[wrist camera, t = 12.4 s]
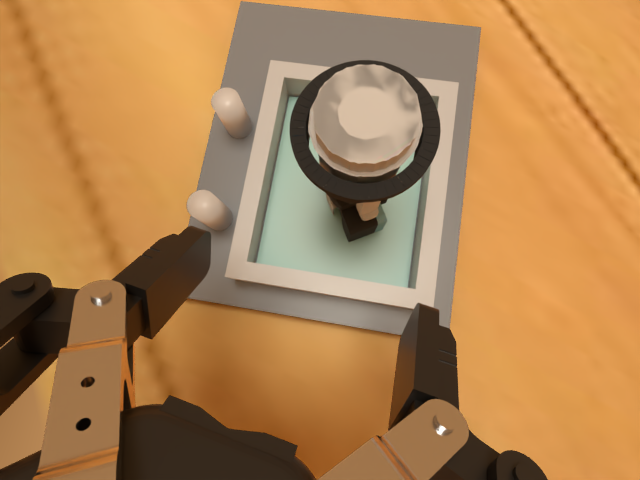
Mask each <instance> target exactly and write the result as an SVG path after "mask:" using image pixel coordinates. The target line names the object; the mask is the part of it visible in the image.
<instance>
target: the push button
mask: <svg viewBox="0 0 640 480" xmlns="http://www.w3.org/2000/svg"><path fill="white" fill-rule="evenodd" d="M440 133H441V128H440V118H439V114H438V110H437V107H436V105H435V102H434V100H433V98H432V97H431V95H430V93H429V92H428V90H427V89H426V88H425V87H424V86H423V84H422V83H421V82H420V81H419V80H418V79H416V78H415V77H414V76H413V75H411V74H410V73H408V72H407V71H405V70H403V69H401V68H399V67H397V66H394V65H392V64H389V63H385V62H380V61H374V60H357V61H350V62H345V63H342V64H339V65H336V66H334V67H331V68H329V69H327V70H325V71H324V72H322V73H321V74H319V75H318V76H316V77H315V78H314V79H313V80H312V81H311V82H310V83H309V84H308V85H307V86H306V87H305V88H304V90H303V91H302V92H301V94H300V95H299V97H298V99H297V101H296V103H295V105H294V108H293V111H292V114H291V118H290V142H291V146H292V150H293V153H294V156H295V159H296V161H297V163H298V165H299V167H300V168H301V170H302V172H303V173H304V174H305V175H306V177H307V178H308V179H309V180H310V181H311V182H312V183H313V184H314V185H316V186H317V187H318V188H319V189H321V190H322V191H324V192H325V193H326V198H327V201H328V204H329V207H330V209H331V212H332V214H333V215H334V209H335V208H338V209H339V211H340V214H341V218H342V225H343V230H344V232H345V235H346V237H347V240H348V242H351V241H354V240H356V239H359V238H362V237H364V236H367V235H369V234H372V233H375V232H377V231H380V230H383V227H384V226H385V224H386V222H387V218H386V215H385V213H384V210H383V208H382V206H381V205H382V204H384V203H386V202H387V199H389V198H393V197H395V196H397V195H399V194H401V193H403V192H404V191H406V190H408V189H409V188H410V187H412V186H413V185H414V184H415V183H416V182H417V181H418V180H419V179H420V178H421V177H422V176H423V175H424V174H425V172H426V171H427V169H428V168H429V166H430V165H431V163H432V161H433V159H434V157H435V155H436V152H437V149H438V146H439V141H440ZM310 138H311V141H312V144H313V147H314V149H315V150H316V152H317V153H318V155H319V163H320V164H319V163H318V162H317V160H316V159H315V158H314V156H313V154H312V153H311V151H310V148H309V140H310ZM414 151H415V153H414ZM413 153H414V158H413V161H412V162H411V163H410V164H409V165H408V166H407V167H406V168H405V169H404V170H403V171H402V172H400V173H399V174H397V172H398V170H399V168H400V166H401V165H403V164H404V162H405V161H406V160H407V159H408V158H409V157H410V156H411V155H412V154H413ZM396 174H397V175H396Z"/></svg>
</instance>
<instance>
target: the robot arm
mask: <svg viewBox="0 0 640 480" xmlns="http://www.w3.org/2000/svg"><path fill="white" fill-rule="evenodd" d="M210 264H211V233H210V232H209V231H206V230H203V229H200V228H197V227H194V226H189V227H187V228H186V229H185V230H184V231H183V232H182V233H181V234H179V235H176V234H171V235H169V236H167V237H164V238H162V239H160V240H158V241H157V242H156V243H155V244H154V245H153V246H151V247H150V249H148V250H147V251H145V252H144V253H143V255H142V256H139V257H138V258H137V259H136V260H135V261H134V262H132V263H131V264H130V265H129V266H128V267H126V268H125V269H124V270H123V271H122V272H121V273H119V274H118V275H117V276H116V277H115V278H113V279H112V280H99V281H95V282H92V283H89V284H87V285H85V286H84V287H82V288H81V289H67V288H55V287H53V286H52V283H51V281H50V279H49V278H48V277H47V276H46V275H43V274H40V273H24V274H19V275H15V276H13V277H10V278H8V279H6V280H5V281H3V282H1V283H0V347H1V346H3V345H4V344H5V343H6V342H7V341H8V340H10V339H11V338H12V337H14V338H13V339H12V340H11V341H10V342H8V343H7V344H6V345H5V346H4V347H3V348H1V349H0V416H1V415H2V414H3V413H4V412H5V410H6V409H7V408H9V407H10V405H11V404H12V403H13V402H14V401H15V400H16V399H17V398H18V397H19V396H20V395H21V394H22V393H23V392H24V391H25V390H26V389H27V388H28V387H29V386H30V385H31V384H32V383H33V382H34V381H35V380H36V379H37V378H38V377H39V376H40V375H41V374H42V373H43V372H44V371H45V370H46V369H47V368H48V367H49V366H50V365H51V364H52V363H53V362H54V361H55V360H56V359H57V358H58V361H57V366H56V372H55V378H54V383H53V389H52V395H51V400H50V406H49V412H48V417H47V423H46V429H45V434H44V440H43V446H42V450H40V451H38V452H36V453H34V454H32V455H30V456H28V457H25V458H23V459H21V460H19V461H18V462H15V463H13V464H11V465H9V466H7V467H5V468H2V469H0V480H316V479H315V477H314V475H313V474H312V473H311V471H310V470H309V469H308V468H307V466H306V465H305V464H304V463H303V462H302V461H300V460H299V459H298V458H297V457H295V453H296V449H297V445H294V444H292V443H289V442H287V441H284V440H282V439H279V438H277V437H274V436H272V435H269V434H267V433H261V432H252V431H243V430H234V429H229V428H226V427H225V426H223V425H222V424H221V423H220V422H218V421H217V420H216V419H215V418H213V417H212V416H211V415H209V414H208V413H207V412H206V411H204V410H203V409H202V408H200V407H198V406H196V405H193V404H191V403H188V402H186V401H183V400H181V399H178V398H176V397H173V396H170V395H169V397H168V398H167V400H166V401H165V402H164V404H163V405H161V404H152V405H143V406H138V407H136V404H135V346H134V342H135V341H136V340H137V339H138V338H139V336H140V335H141V336H144V337H146V338H149V339H153V338H154V336H155V335H156V334H157V333H158V332H159V331H160V329H161V328H162V327H163V326H164V325H165V324H166V322H167V321H168V320H169V319H170V318H171V317H172V315H173V314H174V313H175V312H176V311H177V310H178V308H179V307H180V306H181V305H182V304H183V303H184V301H185V300H186V299H187V298H188V297H189V296H190V294H191V293H192V292H193V291H194V290H195V288H196V287H197V286H198V285H199V284H200V283H201V281H202V280H203V279H204V278H205V277H206V275H207V273H208V271H209V268H210ZM456 355H457V354H456V341H455V339H454V337H453V335H452V333H451V330H450V329H449V328H447V327H444V326H441V325H439V309H436V308H433V307H430V306H427V305H424V304H421V303H417V304H416V306H415V308H414V310H413V312H412V314H411V316H410V318H409V320H408V322H407V324H406V326H405V328H404V330H403V333H402V335H401V338H400V342H399V347H398V355H397V363H396V371H395V380H394V388H393V396H392V404H391V412H390V420H389V428H388V430H389V431H388V432H387V433H385V434H384V435H383V436H381V437H379V436H378V435H377V436H375V437H373V438H371V439H370V440H369V441H367V442H366V443H365V444H363V445H362V446H361V447H359V448H358V449H357V450H356V451H354V452H353V453H352V454H350V455H349V456H348V457H346V458H345V459H344V460H343V461H341V462H340V463H339V464H337V465H336V466H335V467H333V468H332V469H331V470H329V471H328V472H327V473H326V474H324V475H323V476H322V477H320V478H319V479H318V480H547V478H546V476H545V474H544V473H543V471H542V470H541V469H540V467H539V466H538V465H537V464H536V463H535V462H534V461H533V460H531V459H530V458H529V457H527V456H526V455H524V454H522V453H520V452H517V451H512V450H508V451H504V452H503V453H501V454H499V453H498V452H496V451H495V450H494V449H492V448H491V447H489V446H488V445H486V444H485V443H484V442H482V441H481V440H479V439H478V438H477V437H476V436H475V435H474V434H473V433H472V432H471V431H470V430H469V429H468V425H467V422H466V420H465V418H464V417H463V415H462V414H461V413H460V411H459V400H458V377H457V368H456V367H457V357H456Z"/></svg>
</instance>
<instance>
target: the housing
mask: <svg viewBox="0 0 640 480" xmlns="http://www.w3.org/2000/svg"><path fill="white" fill-rule="evenodd" d="M480 33H481V27H473V26H464V25H455V24H446V23H437V22H427V21H418V20H409V19H400V18H391V17H381V16H372V15H363V14H354V13H345V12H335V11H326V10H317V9H308V8H299V7H289V6H280V5H271V4H262V3H253V2H243V1H241V3H240V7H239V11H238V16H237V20H236V24H235V28H234V33H233V37H232V41H231V46H230V50H229V54H228V58H227V63H226V67H225V71H224V75H223V80H222V84H221V88H220V89H219V90H217V91H216V92H215V93H214V95H213V96H212V99H211V104H212V107H213V109H214V110H215V114H214V118H213V122H212V127H211V131H210V135H209V140H208V144H207V148H206V152H205V157H204V161H203V165H202V169H201V174H200V178H199V182H198V187H197V191H195V192H194V193H192V194H191V195H190V197H189V198H188V201H187V210H188V212H189V214H190V215H191V216H190V221H189V225H188V227H189V226H194V227H197V228H200V229H203V230H206V231H209V232H210V233H211V264H210V268H209V271H208V273H207V275H206V277H205V278H204V279H203V280H202V281H201V283H200V284H199V285H198V286H197V287H196V288H195V290H194V291H193V292H192V293H191V294H190V296H189V297H188V298H191V299H197V300H202V301H208V302H214V303H220V304H225V305H231V306H237V307H243V308H248V309H254V310H260V311H266V312H271V313H277V314H283V315H289V316H294V317H300V318H306V319H312V320H317V321H323V322H329V323H335V324H340V325H346V326H352V327H358V328H363V329H369V330H375V331H381V332H386V333H392V334H398V335H402V333H403V330H404V328H405V326H406V324H407V322H408V320H409V318H410V316H411V314H412V312H413V310H414V308H415V306H416V304H417V303H421V304H424V305H427V306H430V307H433V308H436V309H439V325H441V326H444V327H447V328H449V329H450V320H451V310H452V300H453V291H454V281H455V272H456V262H457V253H458V243H459V234H460V224H461V214H462V205H463V195H464V186H465V176H466V167H467V157H468V148H469V138H470V129H471V119H472V109H473V100H474V90H475V81H476V71H477V62H478V52H479V43H480ZM357 60H374V61H380V62H385V63H389V64H392V65H394V66H397V67H399V68H401V69H403V70H405V71H407V72H408V73H410V74H411V75H413V76H414V77H415V78H416V79H418V80H419V81H420V82H421V83H422V84H423V86H424V87H425V88H426V89H427V90H428V92H429V93H430V95H431V97H432V98H433V100H434V102H435V105H436V107H437V110H438V114H439V118H440V128H441V133H440V141H439V146H438V149H437V152H436V155H435V157H434V159H433V161H432V163H431V165H430V166H429V168H428V169H427V171H426V172H425V174H424V175H423V176H422V177H421V178H420V179H419V180H418V181H417V182H416V183H415V184H414V185H413V186H412V187H410V188H409V189H408V190H406V191H404V192H403V193H401V194H399V195H397V196H395V197H393V198H389V199H387V202H386V203H384V204H382V205H381V206H382V208H383V210H384V213H385V215H386V218H387V222H386V224H385V226H384V227H383V230H380V231H377V232H375V233H372V234H369V235H367V236H364V237H362V238H359V239H356V240H354V241H351V242H348V240H347V237H346V235H345V232H344V230H343V225H342V218H341V214H340V211H339V209H338V208H335V209H334V215H333V214H332V212H331V209H330V207H329V204H328V201H327V198H326V193H325V192H324V191H322V190H321V189H319V188H318V187H317V186H316V185H314V184H313V183H312V182H311V181H310V180H309V179H308V178H307V177H306V175H305V174H304V173H303V172H302V170H301V168H300V167H299V165H298V163H297V161H296V159H295V156H294V153H293V150H292V146H291V142H290V118H291V114H292V111H293V108H294V105H295V103H296V101H297V99H298V97H299V95H300V94H301V92H302V91H303V90H304V88H305V87H306V86H307V85H308V84H309V83H310V82H311V81H312V80H313V79H314V78H315V77H316V76H318V75H319V74H321V73H322V72H324V71H325V70H327V69H329V68H331V67H334V66H336V65H339V64H342V63H345V62H350V61H357ZM309 148H310V151H311V153H312V154H313V156H314V158H315V159H316V160H317V162H318V163H319V155H318V153H317V152H316V150H315V149H314V147H313V144H312V141H311V138H310V140H309ZM414 153H415V151H414ZM414 153H413V154H412V155H411V156H410V157H409V158H408V159H407V160H406V161H405V162H404V164H403V165H401V166H400V168H399V170H398V172H397V174H399V173H400V172H402V171H403V170H404V169H405V168H406V167H407V166H408V165H409V164H410V163H411V162H412V161H413V158H414ZM319 164H320V163H319ZM397 174H396V175H397Z"/></svg>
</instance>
